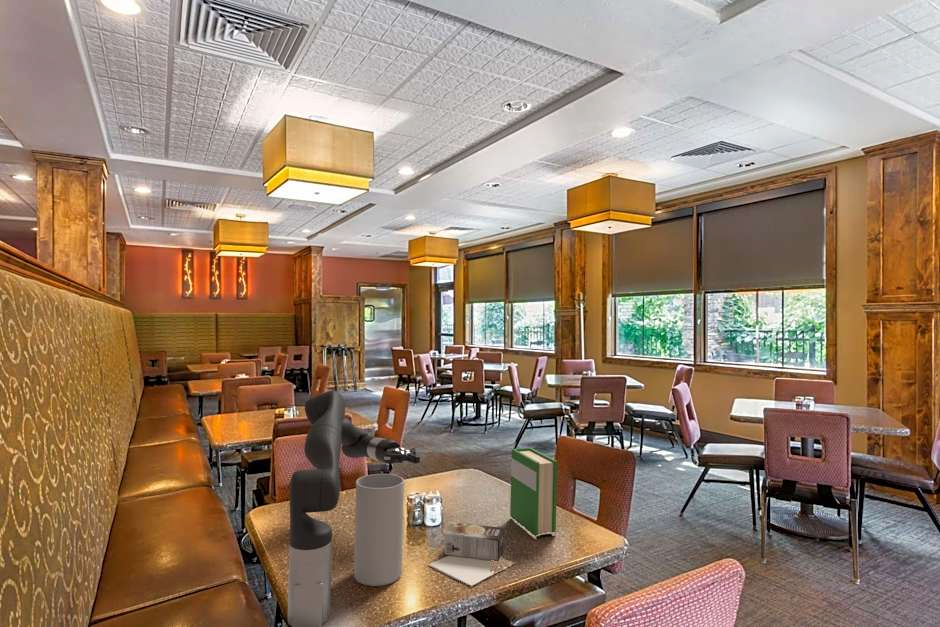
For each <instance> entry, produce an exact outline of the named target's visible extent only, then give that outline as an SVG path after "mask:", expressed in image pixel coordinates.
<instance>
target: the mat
mask: <svg viewBox="0 0 940 627" xmlns="http://www.w3.org/2000/svg"><path fill="white" fill-rule="evenodd" d="M489 561H490V562H493V561H491V560H486V559H478V558H471V557H463V556H455V555H447V556H444V557H443V558H440V559H438V560H435V561H433V562H431V563H429V565H428V566H429V567H430V568H432V569H434V570H436V571H438V572H440V573H442V574H444V575H445V576H448V577H450V578H452V579H454V580H455V581H458V580H459V581H458V582H460V581H461V582H460V583H462V582H463V583H462V584H464V583H466V584H468V585H471V586H473V585H474V584H477V583H478V582H480V581H482V580H484V579H486V578H487V577H489V576H491V575H493V573H494V571H492V572H490V570H489V568H492V567H491V566H490V565H492V566H494V565H493V564H492V563H490V562H489ZM493 563H494V562H493ZM488 567H489V568H488ZM498 568H500V567H498ZM492 569H493V568H492ZM496 573H497V572H496ZM466 584H465V585H466ZM468 585H467V586H468Z"/></svg>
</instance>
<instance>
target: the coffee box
mask: <svg viewBox="0 0 940 627" xmlns="http://www.w3.org/2000/svg"><path fill="white" fill-rule="evenodd" d="M504 543H505V528H504V527H498V526H488V525H480V524H472V523H471V524H470V523H463V522H453V521H452V522H451V524H450V525H449V526H448V528H447V529H446V531H445V532H444V550H443V551H444V553H443V554H444V555H447V556H449V555H455V556H463V557H471V558H478V559H486V560H494V561H499V559H500V557H502V555H503V552H504V548H505V544H504Z"/></svg>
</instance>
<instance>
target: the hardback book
mask: <svg viewBox="0 0 940 627" xmlns="http://www.w3.org/2000/svg"><path fill="white" fill-rule="evenodd" d="M510 461H511V464H510V465H511V466H510V467H511V468H510V469H511V470H510V471H511V472H510V510H509V513H510V514H509V516H511V517H512V518H513V519H515V520H516V521H517V522H518V523H520V524H521V525H522V526H524V527H525V528H526V529H527V530H528V531H530V532H531V533H532V534H533V535H535V536H536V535H538V534H542V533H547V532H556V531H557V494H558V493H557V490H558V489H557V488H558V460H557V459H554V458H552V457H550V456H549V455H546V454H544V453H542V452H540V451H538V450H537V449H534V448H532V447H523V448H522V447H520V448H512V449H511V460H510ZM556 533H557V532H556Z"/></svg>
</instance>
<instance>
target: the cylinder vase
mask: <svg viewBox="0 0 940 627" xmlns="http://www.w3.org/2000/svg"><path fill="white" fill-rule="evenodd" d="M404 492H405V479H404V478H403V477H402V476H399V475H396V474H391V473H373V474H368V475H364V476H361V477H359V478H358V479H356V481H355V508H354V509H355V510H354V512H355V513H354V516H355V517H354V546H353V547H354V554H353V558H354V559H353V577H354V579H355V580H356V582H358V583H359V584H362V585H364V586H368V587H382V586H386V585H390V584H392V583H394V582H396V581H397V580H398V579H399V578H400V577H401V576H402V573H403V572H402V571H403V538H404V537H403V533H404V532H403V531H404V502H405V501H404V499H405V498H404V497H405V496H404Z"/></svg>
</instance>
